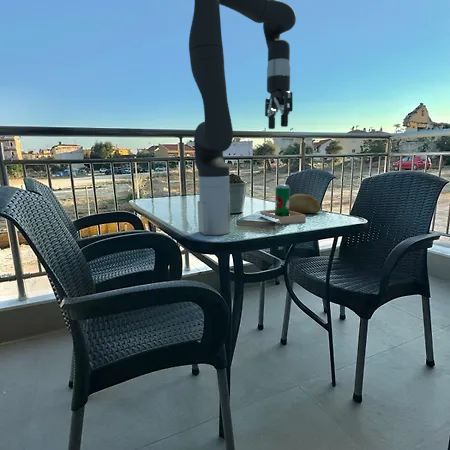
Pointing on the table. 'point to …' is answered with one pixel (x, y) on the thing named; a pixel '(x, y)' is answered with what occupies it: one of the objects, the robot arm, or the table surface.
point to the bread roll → (304, 204)
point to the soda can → (282, 200)
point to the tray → (290, 219)
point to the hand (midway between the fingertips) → (277, 127)
